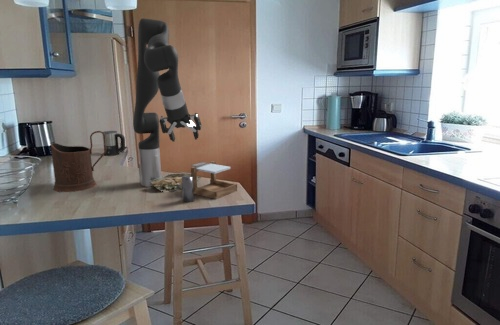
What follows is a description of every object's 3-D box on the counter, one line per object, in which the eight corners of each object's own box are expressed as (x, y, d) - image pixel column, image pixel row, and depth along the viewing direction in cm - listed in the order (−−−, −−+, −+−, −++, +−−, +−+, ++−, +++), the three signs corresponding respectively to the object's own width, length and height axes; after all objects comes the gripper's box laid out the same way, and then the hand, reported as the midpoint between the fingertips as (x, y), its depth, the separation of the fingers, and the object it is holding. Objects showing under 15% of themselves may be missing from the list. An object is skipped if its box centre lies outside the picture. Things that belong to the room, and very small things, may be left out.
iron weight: (180, 201, 152) (179, 177, 150) (188, 198, 156) (187, 174, 154) (188, 203, 150) (187, 179, 148) (196, 200, 153) (195, 176, 151)
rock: (149, 193, 174) (159, 198, 161) (145, 179, 172) (155, 182, 160) (194, 178, 185) (207, 181, 172) (190, 164, 184) (203, 167, 171)
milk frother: (102, 156, 237) (100, 132, 234) (105, 151, 252) (103, 129, 249) (126, 155, 241) (124, 132, 237) (128, 150, 256) (126, 128, 252)
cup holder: (56, 182, 180) (50, 130, 174) (110, 178, 187) (105, 128, 181) (49, 193, 163) (41, 136, 157) (108, 188, 170) (103, 133, 164)
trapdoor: (188, 171, 164) (188, 165, 163) (205, 166, 172) (204, 161, 171) (214, 176, 155) (214, 170, 155) (230, 171, 163) (230, 166, 163)
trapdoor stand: (189, 192, 163) (188, 166, 161) (211, 185, 174) (210, 160, 172) (216, 199, 155) (215, 172, 152) (237, 190, 166) (236, 165, 163)
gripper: (195, 94, 132) (204, 131, 143) (156, 98, 133) (168, 134, 144) (193, 106, 126) (202, 144, 137) (152, 110, 128) (164, 147, 138)
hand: (185, 139), depth 141 cm, fingers open, 8 cm apart
